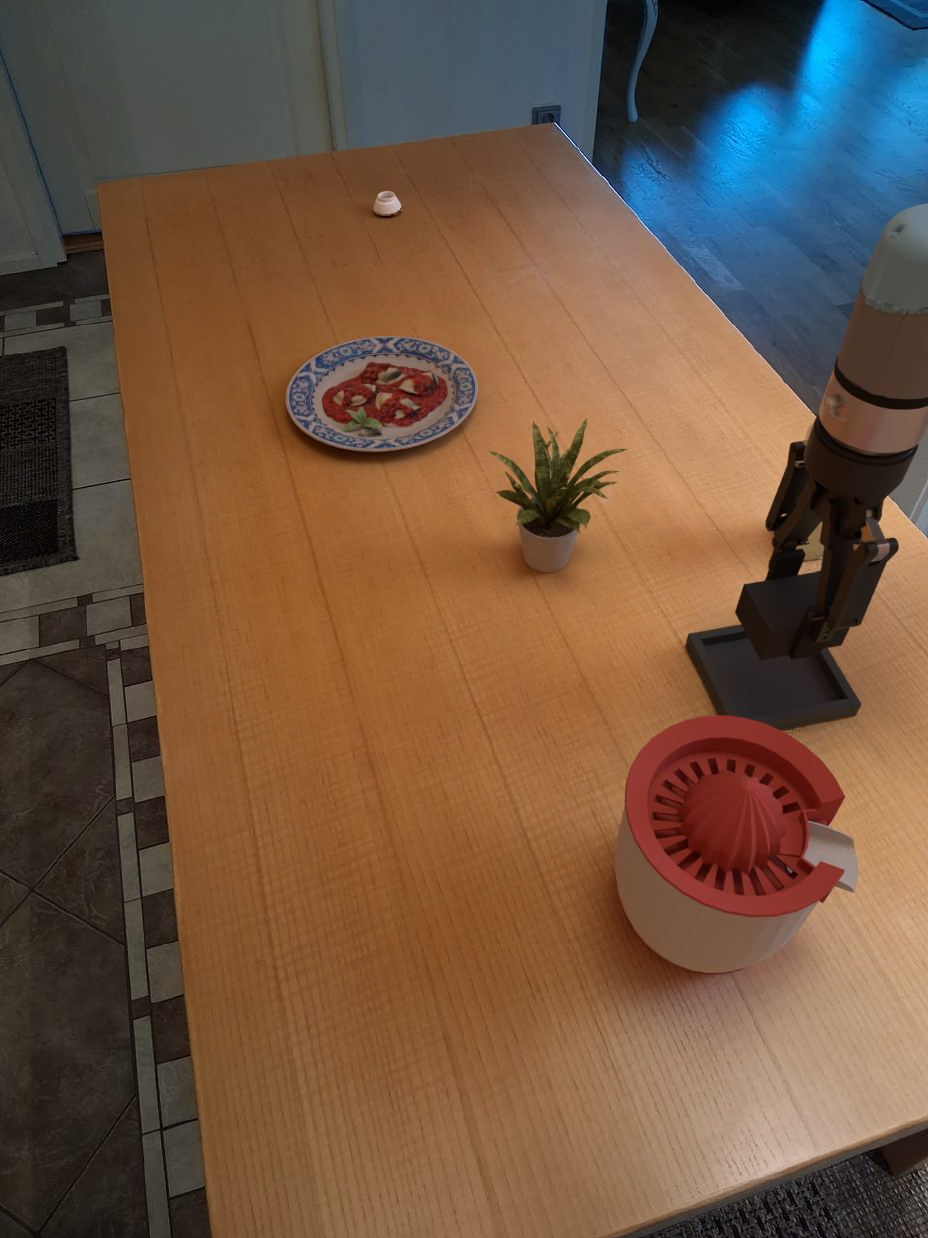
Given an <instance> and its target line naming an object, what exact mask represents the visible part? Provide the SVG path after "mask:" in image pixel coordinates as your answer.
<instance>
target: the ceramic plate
mask: <svg viewBox="0 0 928 1238" xmlns="http://www.w3.org/2000/svg"><path fill="white" fill-rule="evenodd" d="M478 384H479V383H478V379H477V376H476V374H475V372H474V370H473V367H471V365H470V364H469V363H468V361H466V360H465V359H464V358H463V357H462V356H460V355H459V354H458V353H457V352H455V351H454V350H451V349H450V348H448V347H446V346H444V345H441V344H439V343H436V342H433V341H430V340H425V339H422V338H417V337H410V336H408V337H407V336H401V335H377V336H371V337H370V336H369V337H363V338H357V339H353V340H348V341H346V342H343V343H339V344H335V345H334V346H330V347H329V348H327V349H324V350H323V351H321V352H319V353H318V354H316V355H314V356H313V357H311V358H310V359H308V360H307V361H305V362H304V363H303V364H302V365H301V366H300V367H299V368H298V369H297V371H296V372H295V373H293V375H292V377H291V379H290V380H289V382H288V385H287V388H286V391H285V392H286V393H285V405H286V409H287V412H288V414H289V416H290V418H291V420H292V421H293V423H295V425H296V426H297V427H298V428H299V429H300V430H301V431H302V432H303V433H305V434H306V435H308V436H309V437H311V438H312V439H314V440H316V441H318V442H321V443H323V444H325V445H327V446H332V447H335V448H339V449H343V450H349V451H354V452H363V453H364V452H365V453H367V452H368V453H371V452H372V453H385V452H393V451H399V450H405V449H410V448H415V447H417V446H420V445H424V444H427V443H429V442H433V441H434V440H436V439H438V438H441V437H443V436H444V435H446V434H448V433H449V432H451V431H452V430H454V429H455V428H457V427H458V426H460V424H461V423H462V422H463V421H464V420H465V419H467V417H468V416H469V414H470V413H471V411H472V410H473V408H474V406H475V404H476V402H477V398H478V391H479V385H478Z"/></svg>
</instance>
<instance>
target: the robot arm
mask: <svg viewBox="0 0 928 1238" xmlns="http://www.w3.org/2000/svg"><path fill="white" fill-rule="evenodd" d="M839 349H840V350H839V352H838V354H837V356H836V359H835V362H834V366H833V369H832V372H831V376H830V378H829V381H828V383H827V387H826V389H825V391H824V395H823V397H822V401H821V403H820V406H819V410H818V414H817V415H816V417H815V419H814V421H813V423H814V424H813V423H812V424H813V427H812V430H811V433H810V436H809V439H808V440H805V441H803V440H799V441H793V442H791V443H790V444H789V448H788V454H787V455H788V456H787V461H786V462H787V464H786V467H785V469H784V471H783V473H782V474H783V475H782V478H781V480H780V482H779V485H778V487H777V490H776V493H775V495H774V498H773V501H772V503H771V505H770V508H769V511H768V513H767V515H766V518H765V521H764V523H765V524H764V526H765V529H766V530H767V532H772V533H773V537H772V540H771V545H772V548H773V549H772V552H771V555H770V558H769V560H768V566H767V569H768V571H767V572H766V576H765V578H764V581H766V580H772V579H778V578H784V577H789V576H795V575H799V573H800V571H801V568H802V565H803V562H804V558H805V555H806V554H805V552H804V550H803V549H796V547H797V546H802V545H808V544H810V543H807V541H809V540H808V537H809V536H810V535H811V534H812V532H813V531H814V530H815V529H816V528H817V526H818V525H819V524H820V523H821V522H822V529H821V536H820V543H821V544H822V545H823V546H824V552H823V556H822V560H821V565H820V570H819V571H820V578H819V584H818V591H817V597H816V603H815V606H810V607H807V609H806V612H805V614H804V617H803V619H802V621H801V624H800V626H799V629H798V632H797V634H796V636H795V639H794V641H793V644H792V646H791V648H790V651H789V653H788V655H789V656H790V658H791V660H794V659H800V658H805V657H811V656H816V655H819V654H820V652H821V650H822V648H823V646H824V643H825V641H829V640H830V639H831V638H832V636H833V634H834V631H835V630H839V629H844V628H850V629H851V628H854V627H859V626H861V625H862V623H863V620H864V618H865V615H866V613H867V610H868V608H869V606H870V604H871V602H872V599H873V596H874V594H875V591H876V590H877V587H878V584H879V582H880V580H881V578H882V575H883V572H884V570H885V568H886V565H887V563H888V562H889V561H890V560H891V559H892V558H893V557H894V556H895V555H896V554H897V553H898V552H899V549H900V543H899V541H898V539H897V538H896V537H893V536H892V537H887V538H886V537H885V535H884V532H883V531H882V528H881V526H880V524H879V523H880V521H881V519H882V517H883V505H884V501H885V499H886V498H887V497H888V496H889V495H890V494H891V493H893V491H895V490H896V489H897V488H898V487H899V486H900V485H901V483H903V481H904V479H905V477H906V475H907V472H908V470H909V468H910V466H911V464H912V462H913V460H914V457H915V456H916V453H917V451H918V449H919V444H920V443H921V442H922V440H923V438H924V436H925V435H926V434H927V433H926V432H927V430H928V203H922V204H917V205H914V206H911V207H908V208H906V209H903V210H902V211H899V212H898V213H897V214H895V215H894V216H893V217H892V218H891V219H890V220H889V221H888V222H887V223H886V225H885V227H884V228H883V230H882V232H881V234H880V236H879V238H878V241H877V243H876V245H875V247H874V249H873V251H872V254H871V256H870V259H869V261H868V264H867V265H866V268H865V271H864V272H863V274H862V276H861V278H860V282H859V285H858V293H857V295H856V299H855V301H854V305H853V309H852V311H851V315H850V317H849V319H848V324H847V327H846V330H845V333H844V336H843V339H842V343H841V346H840V348H839ZM785 514H787V515H785Z"/></svg>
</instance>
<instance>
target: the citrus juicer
mask: <svg viewBox="0 0 928 1238" xmlns="http://www.w3.org/2000/svg"><path fill="white" fill-rule="evenodd" d="M630 765H631V766H630V768H629V770H628V771H629V772H628V774H627V778H626V781H625V790H624V806H623V811H622V815H621V819H620V824H619V827H618V832H617V836H616V842H615V843H616V844H615V855H614V870H615V879H616V886H617V893H618V896H619V899H620V904H621V906H622V909H623V912H624V916H625V918H626V920H627V921H628V923H629V925H630V926H631V928H632V929H633V932H634V933H635V934H636V936H637V937H638V938H639V939H640V941H642V943H643V944H644V945H645V947H646V948H648V949H649V950H650V951H651V952H652V953H653V954H655V955H656V956H657V957H658V958H660V959H661V960H663V961H665V962H667V963H668V964H670V965H672V966H673V967H676V968H679V969H682V970H683V971H684V970H685V971H687V972H690V973H697V974H703V975H727V974H730V973H735V972H740V971H742V970H744V969H746V968H750V967H753V966H754V965H756V964H758V963H760V962H762V961H764V960H766V959H768V958H769V957H771V956H772V955H774V954H776V953H777V952H778V951H779V950H781V948H783V947H784V946H785V945H786V944H787V943H789V942H790V941H791V939H792V938H793V937H794V936H795V935H796V934H797V933H798V931H799V930H800V929H801V928H802V926H803V925H804V923H805V922H806V920H807V919H808V917H809V916H810V915H811V913H812V912H813V910H814V909H815V908H816V906H817V905H818V903H821V904H824V902H826V900H827V898H828V896H829V895H830V893H831V892H832V891H833V890H834V888H835V887H836V888H839V889H841V890H843V891H847V892H850V893H853V894H855V891H856V889H857V884H858V879H859V878H858V877H859V876H858V875H859V869H858V867H859V866H858V859H857V853H856V847H855V841H854V838H853V836H851V835H849V834H848V833H846V832H844V831H840V830H838V829H836V828H833V827H830V824H831V823H832V822H833V820H834V819H835V817H836V816H837V814H838V812H839V810H840V808H841V806H842V804H843V802H844V800H845V798H846V795H845V793H844V791H843V789H842V787H841V786H840V784H839V782H838V780H837V778H836V777H835V775H834V773H832V771H831V770H830V769H829V768H828V766H827V765H826V764H825V763H824V762H823V761H822V759H821V758H820V757H819V756H818V755H817V754H816V753H814V752H813V751H812V750H811V749H810V748H809V747H808V746H806V744H804V743H803V742H801V741H799V740H798V739H797V738H795V737H794V736H792V735H790V734H789V733H787V732H785V731H784V730H778V729H776V728H774V727H772V726H770V725H768V724H765V723H761V722H758V721H754V720H751V719H748V718H742V717H734V716H727V715H720V716H719V715H702V716H697V717H691V718H688V719H684V720H682V721H679V722H677V723H675V724H672V725H670V726H667V727H666V728H665V729H663V730H662V731H660V732H659V733H657V734H655V735H654V736H653V737H652V738H651V739H650V740H648V741H647V743H646V744H645V745H644V746H643V747H641V749H640V750H639V751H638V753H637V755H636V757H635V758H634V759H633V762H632V764H630Z"/></svg>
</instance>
